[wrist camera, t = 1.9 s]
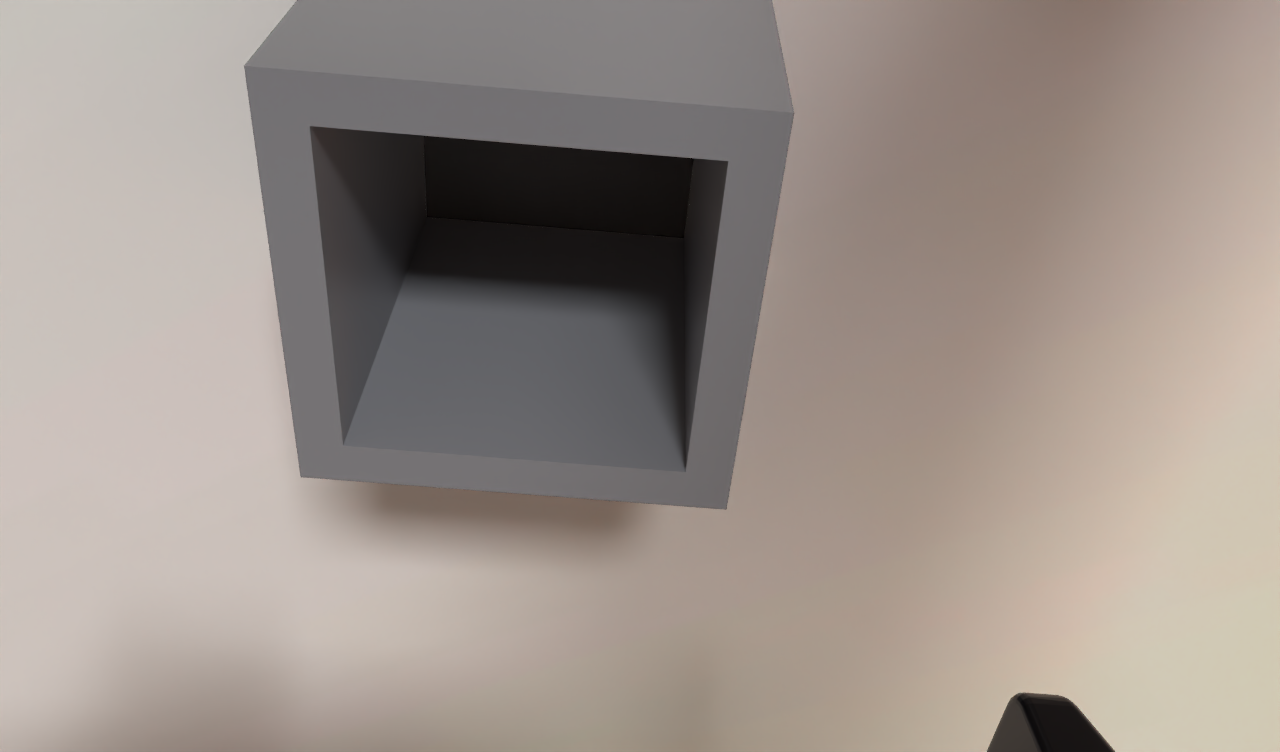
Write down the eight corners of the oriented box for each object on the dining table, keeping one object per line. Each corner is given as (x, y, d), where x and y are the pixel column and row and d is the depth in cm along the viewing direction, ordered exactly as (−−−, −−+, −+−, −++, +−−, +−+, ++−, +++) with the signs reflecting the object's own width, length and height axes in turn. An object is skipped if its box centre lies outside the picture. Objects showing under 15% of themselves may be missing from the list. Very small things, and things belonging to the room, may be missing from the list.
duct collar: (760, -59, 16) (794, 113, 12) (714, 270, 20) (726, 509, 15) (372, -94, 16) (244, 66, 11) (393, 244, 20) (300, 476, 15)
